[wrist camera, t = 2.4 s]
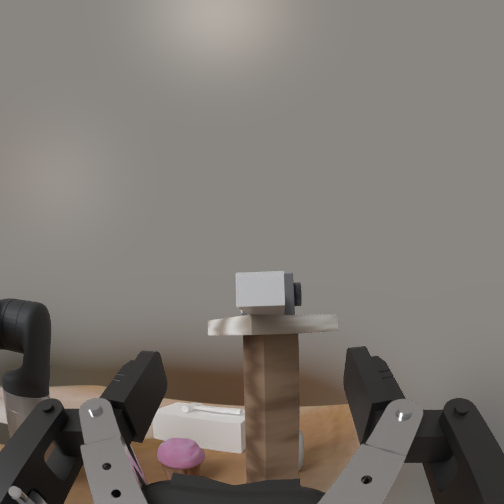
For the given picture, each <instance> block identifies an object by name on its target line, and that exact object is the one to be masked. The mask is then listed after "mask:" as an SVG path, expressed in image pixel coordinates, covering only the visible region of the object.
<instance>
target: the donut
mask: <svg viewBox="0 0 504 504" xmlns="http://www.w3.org/2000/svg"><path fill="white" fill-rule="evenodd" d="M303 461H304V440H303V434H302V432H301V431H300V430H299V470H300V469H301V468H302V466H303Z"/></svg>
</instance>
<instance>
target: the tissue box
mask: <svg viewBox="0 0 504 504" xmlns="http://www.w3.org/2000/svg"><path fill="white" fill-rule="evenodd" d="M153 433H154V438H155V439H160V440H164V441H166V440H168V439H170V438H188V439H191V440H194V441H195V442H196V443H197V444H198V445H199V447H200V448H204V449H211V450H217V451H225V452H233V453H242V452H243V451H244V450H245V449H246V439H245V409H235V408H223V407H212V406H203V404H201V403H191V404H187V403H179V402H177V403H174V404H172V405H169V406H166V407H163V408H160V409H158V410H157V412H156V414H155V416H154V418H153Z"/></svg>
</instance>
